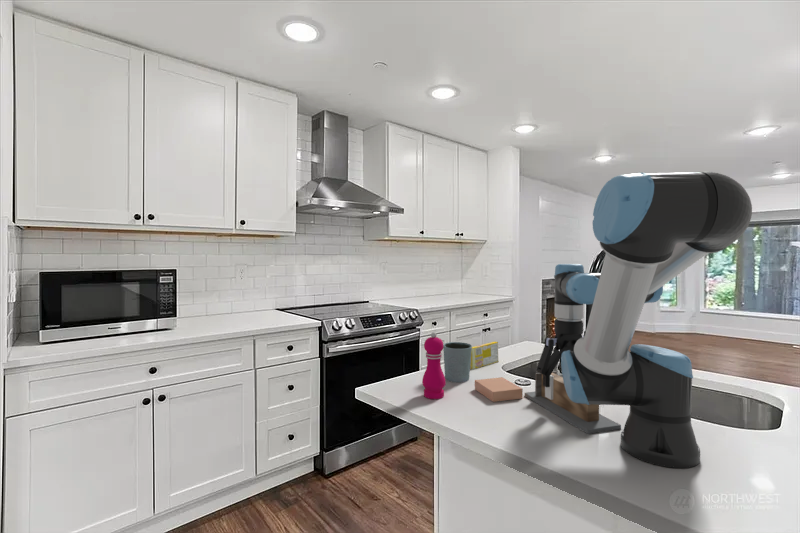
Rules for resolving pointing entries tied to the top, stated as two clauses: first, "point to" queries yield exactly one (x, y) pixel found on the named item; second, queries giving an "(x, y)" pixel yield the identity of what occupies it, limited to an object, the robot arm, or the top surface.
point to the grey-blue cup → (457, 361)
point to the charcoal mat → (583, 425)
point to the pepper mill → (433, 368)
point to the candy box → (484, 355)
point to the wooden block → (566, 398)
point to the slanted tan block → (498, 389)
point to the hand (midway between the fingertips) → (567, 396)
